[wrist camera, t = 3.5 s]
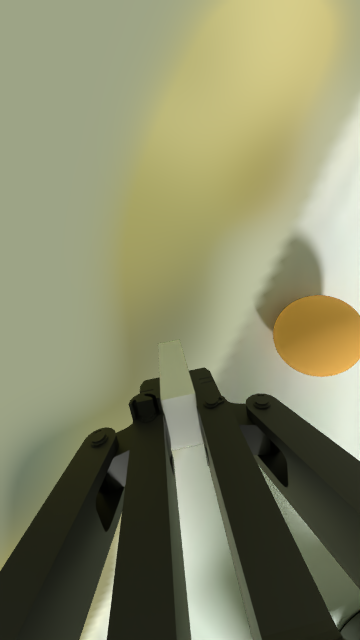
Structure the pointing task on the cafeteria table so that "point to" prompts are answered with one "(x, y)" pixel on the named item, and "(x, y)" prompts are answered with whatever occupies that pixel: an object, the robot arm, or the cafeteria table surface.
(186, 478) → the cafeteria table surface
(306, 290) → the cafeteria table surface
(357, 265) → the cafeteria table surface
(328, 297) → the ball
